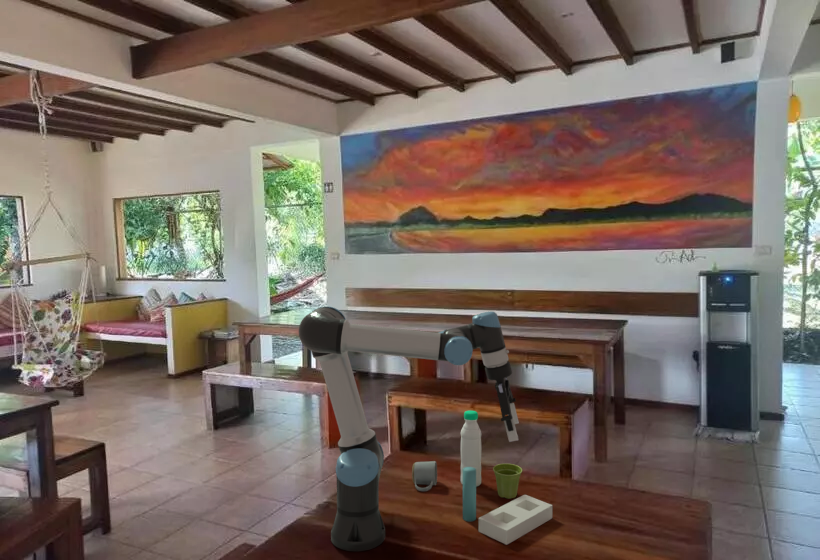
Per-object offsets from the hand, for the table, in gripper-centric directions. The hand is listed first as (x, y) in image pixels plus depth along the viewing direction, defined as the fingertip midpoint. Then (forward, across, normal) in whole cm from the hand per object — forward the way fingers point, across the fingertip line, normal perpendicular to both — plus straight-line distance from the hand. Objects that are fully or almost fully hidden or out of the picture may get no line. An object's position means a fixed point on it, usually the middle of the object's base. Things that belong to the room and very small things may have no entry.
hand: (514, 432), depth 171 cm
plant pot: (+25, +13, +9) cm, 30 cm away
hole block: (+25, -6, +6) cm, 26 cm away
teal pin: (+22, -5, +19) cm, 29 cm away
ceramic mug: (+19, +16, +36) cm, 43 cm away
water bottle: (+22, +20, +21) cm, 37 cm away
